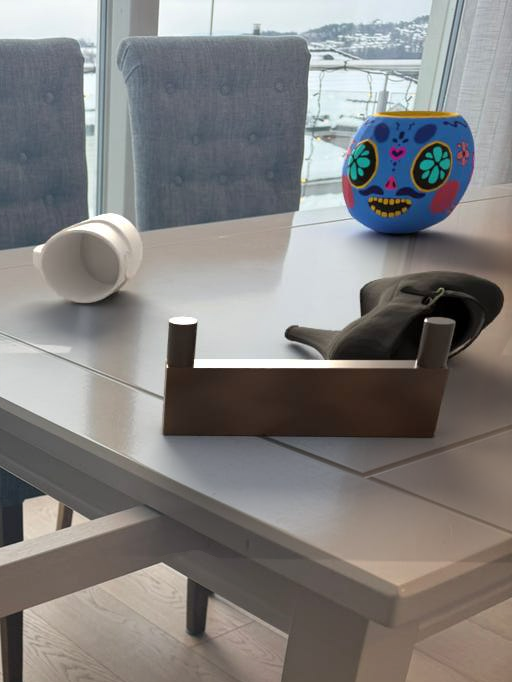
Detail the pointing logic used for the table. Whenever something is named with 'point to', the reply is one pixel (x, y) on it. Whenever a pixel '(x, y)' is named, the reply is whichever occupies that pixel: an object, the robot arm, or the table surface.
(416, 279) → the high-heeled shoe
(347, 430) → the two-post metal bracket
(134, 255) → the mug
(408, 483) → the table surface
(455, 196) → the ceramic pot
